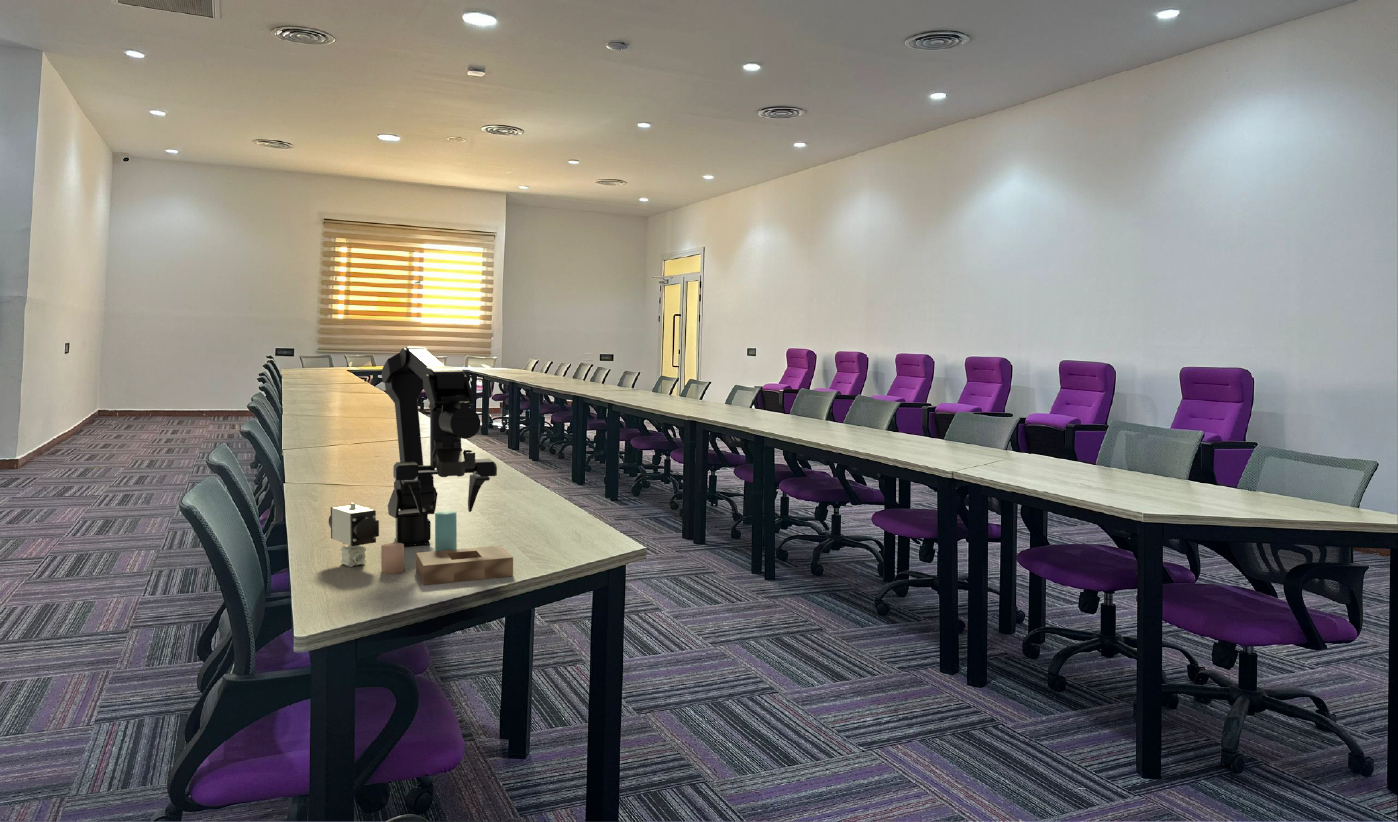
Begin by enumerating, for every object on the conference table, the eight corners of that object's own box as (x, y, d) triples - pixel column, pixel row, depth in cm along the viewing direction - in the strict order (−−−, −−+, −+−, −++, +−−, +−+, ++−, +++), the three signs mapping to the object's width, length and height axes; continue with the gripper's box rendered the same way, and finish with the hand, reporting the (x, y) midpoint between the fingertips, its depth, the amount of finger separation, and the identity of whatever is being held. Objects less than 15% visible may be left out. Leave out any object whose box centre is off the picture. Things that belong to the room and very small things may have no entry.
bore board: (423, 584, 146) (423, 565, 146) (416, 571, 155) (416, 552, 155) (513, 575, 153) (513, 557, 153) (501, 563, 162) (501, 545, 162)
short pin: (382, 575, 152) (382, 548, 152) (380, 569, 156) (380, 543, 155) (405, 573, 154) (405, 546, 154) (402, 567, 158) (402, 542, 157)
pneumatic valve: (355, 572, 153) (355, 509, 153) (327, 560, 161) (327, 500, 160) (384, 567, 158) (383, 505, 157) (355, 556, 165) (354, 497, 164)
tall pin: (436, 567, 158) (436, 515, 158) (433, 562, 162) (433, 512, 161) (458, 565, 160) (458, 514, 159) (454, 560, 164) (454, 510, 163)
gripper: (399, 439, 148) (399, 525, 149) (503, 436, 156) (502, 518, 157) (392, 433, 158) (393, 513, 159) (490, 430, 166) (490, 507, 167)
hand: (445, 513), depth 160 cm, fingers open, 9 cm apart
